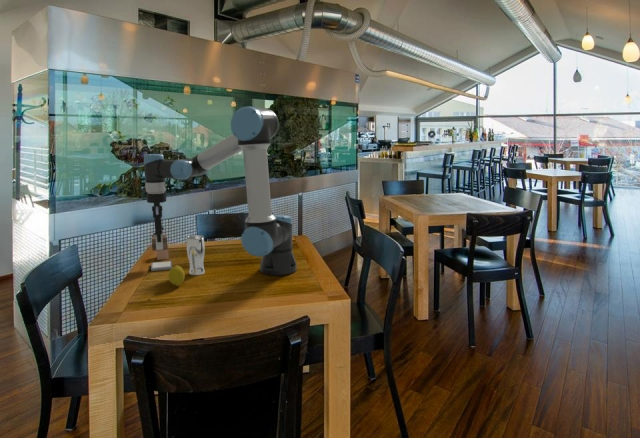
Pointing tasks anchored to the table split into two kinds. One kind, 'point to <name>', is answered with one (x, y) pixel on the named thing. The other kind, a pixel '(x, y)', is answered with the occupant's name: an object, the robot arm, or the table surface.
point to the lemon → (176, 275)
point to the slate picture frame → (161, 266)
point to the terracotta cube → (162, 254)
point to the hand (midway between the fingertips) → (159, 247)
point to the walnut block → (165, 245)
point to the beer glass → (196, 254)
